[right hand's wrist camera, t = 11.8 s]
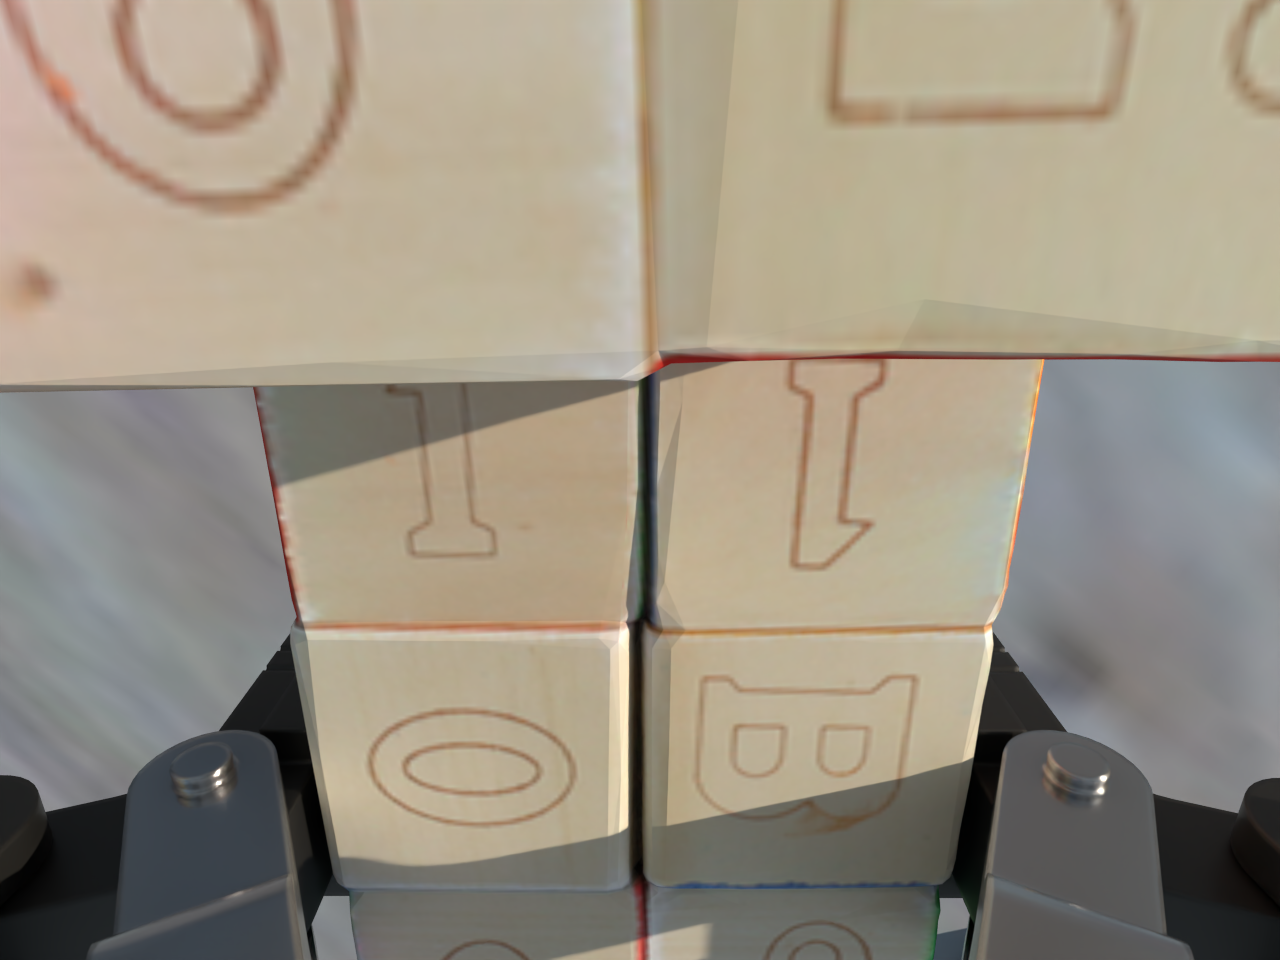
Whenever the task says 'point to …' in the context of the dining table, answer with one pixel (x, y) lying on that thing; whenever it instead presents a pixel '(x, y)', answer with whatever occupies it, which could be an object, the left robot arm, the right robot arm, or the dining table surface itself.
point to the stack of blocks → (638, 399)
